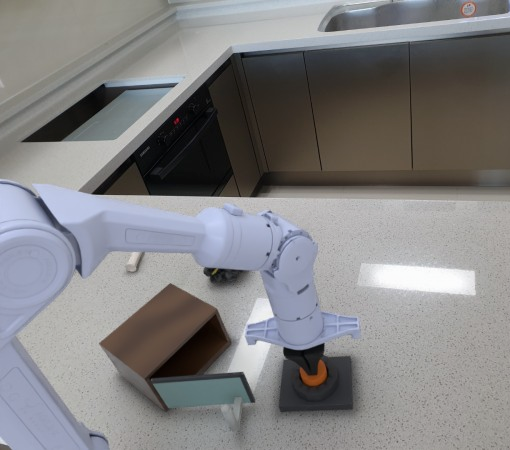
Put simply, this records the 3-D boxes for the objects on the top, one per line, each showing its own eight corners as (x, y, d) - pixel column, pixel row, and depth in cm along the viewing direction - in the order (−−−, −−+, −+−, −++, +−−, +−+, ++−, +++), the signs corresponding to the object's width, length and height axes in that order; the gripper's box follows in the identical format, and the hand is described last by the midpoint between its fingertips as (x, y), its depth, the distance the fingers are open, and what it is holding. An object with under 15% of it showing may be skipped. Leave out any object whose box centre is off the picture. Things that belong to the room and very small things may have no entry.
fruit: (212, 205, 91) (198, 254, 79) (254, 210, 91) (247, 259, 79) (210, 239, 96) (197, 290, 84) (250, 243, 97) (243, 295, 84)
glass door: (251, 434, 60) (238, 407, 56) (159, 440, 62) (140, 413, 58) (255, 399, 64) (243, 371, 60) (169, 405, 66) (151, 378, 62)
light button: (301, 388, 63) (299, 381, 62) (302, 365, 66) (300, 358, 65) (327, 387, 63) (325, 380, 62) (327, 364, 65) (325, 357, 64)
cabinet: (232, 343, 74) (217, 308, 69) (166, 412, 67) (144, 378, 62) (186, 316, 81) (170, 282, 76) (121, 376, 73) (98, 343, 68)
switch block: (280, 411, 64) (276, 399, 62) (285, 364, 69) (281, 352, 68) (352, 409, 62) (350, 397, 60) (351, 361, 68) (349, 348, 66)
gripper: (354, 274, 57) (364, 342, 65) (241, 283, 59) (265, 347, 68) (356, 318, 51) (366, 386, 60) (232, 326, 54) (258, 391, 62)
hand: (312, 369), depth 63 cm, fingers closed, pressing on light button
